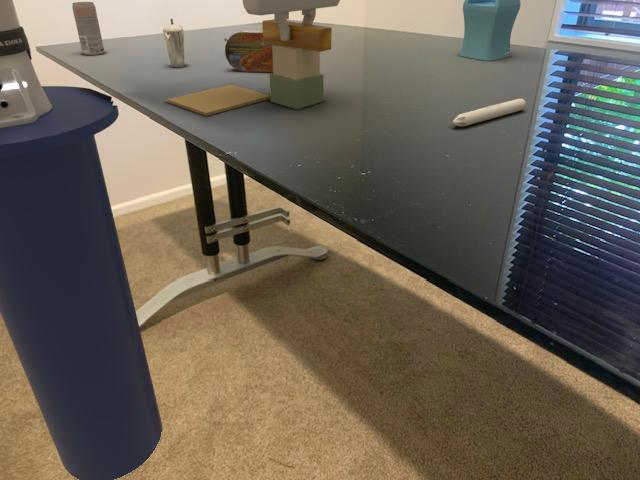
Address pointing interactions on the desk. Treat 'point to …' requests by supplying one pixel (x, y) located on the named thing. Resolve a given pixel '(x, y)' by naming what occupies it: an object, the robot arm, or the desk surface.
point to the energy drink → (88, 28)
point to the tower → (296, 77)
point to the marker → (489, 112)
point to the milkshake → (175, 44)
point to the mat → (218, 99)
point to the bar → (299, 35)
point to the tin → (249, 52)
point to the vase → (488, 28)
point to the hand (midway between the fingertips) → (295, 38)
